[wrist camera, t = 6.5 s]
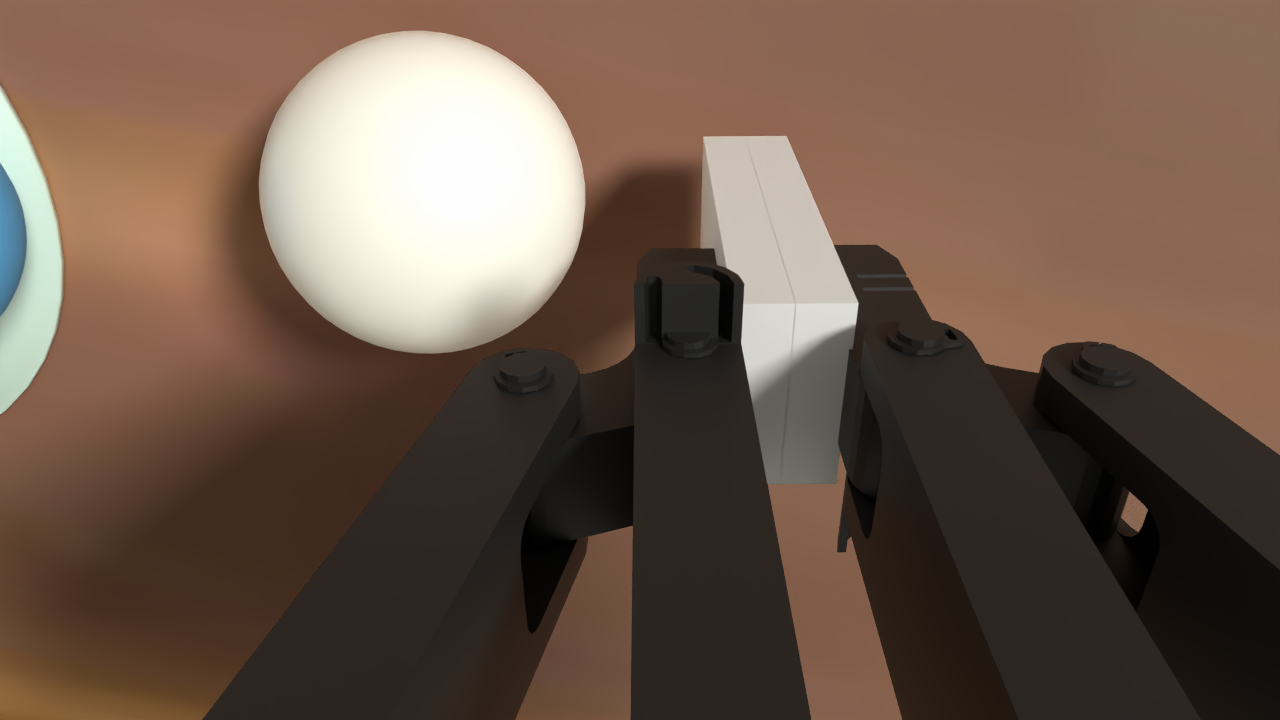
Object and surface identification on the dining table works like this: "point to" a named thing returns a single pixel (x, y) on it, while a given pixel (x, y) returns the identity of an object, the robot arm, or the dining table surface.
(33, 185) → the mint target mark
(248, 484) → the dining table surface
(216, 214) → the dining table surface
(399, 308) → the white cue ball
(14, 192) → the blue object ball
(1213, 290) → the dining table surface
